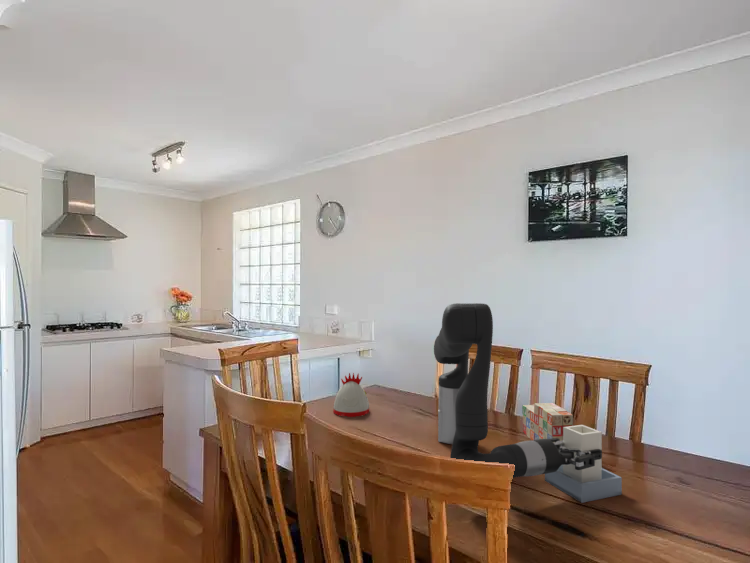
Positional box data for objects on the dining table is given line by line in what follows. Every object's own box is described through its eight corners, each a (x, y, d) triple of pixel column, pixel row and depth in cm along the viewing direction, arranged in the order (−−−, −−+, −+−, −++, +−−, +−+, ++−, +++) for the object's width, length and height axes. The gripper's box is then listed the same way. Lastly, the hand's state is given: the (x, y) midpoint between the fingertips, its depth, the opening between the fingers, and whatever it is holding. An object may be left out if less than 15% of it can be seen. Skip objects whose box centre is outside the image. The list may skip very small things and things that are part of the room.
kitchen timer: (368, 417, 166) (368, 376, 166) (331, 416, 167) (331, 376, 167) (369, 406, 180) (369, 369, 180) (335, 406, 180) (335, 369, 181)
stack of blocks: (522, 432, 149) (522, 395, 149) (540, 432, 150) (540, 395, 150) (552, 457, 128) (551, 414, 128) (573, 456, 128) (573, 414, 128)
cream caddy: (581, 486, 105) (582, 434, 105) (563, 475, 111) (563, 427, 111) (601, 482, 107) (601, 432, 107) (582, 472, 113) (582, 424, 113)
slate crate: (581, 502, 101) (581, 485, 101) (544, 480, 113) (544, 464, 113) (621, 494, 105) (621, 477, 105) (582, 473, 117) (582, 458, 117)
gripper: (555, 452, 97) (614, 443, 103) (514, 431, 111) (568, 424, 117) (555, 486, 97) (614, 476, 103) (514, 462, 111) (568, 453, 116)
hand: (589, 448), depth 110 cm, fingers closed on cream caddy, 6 cm apart
